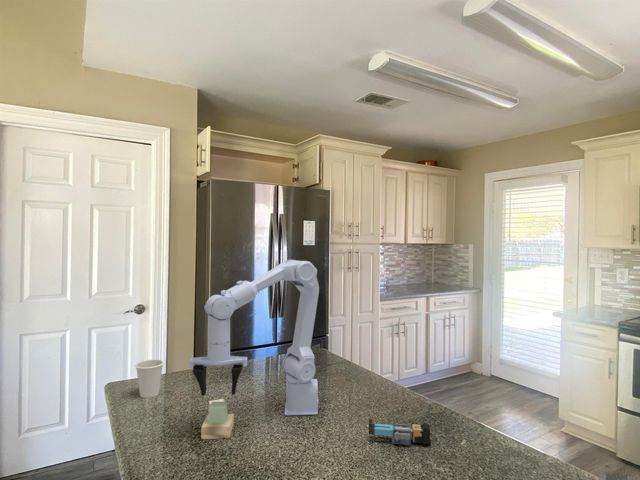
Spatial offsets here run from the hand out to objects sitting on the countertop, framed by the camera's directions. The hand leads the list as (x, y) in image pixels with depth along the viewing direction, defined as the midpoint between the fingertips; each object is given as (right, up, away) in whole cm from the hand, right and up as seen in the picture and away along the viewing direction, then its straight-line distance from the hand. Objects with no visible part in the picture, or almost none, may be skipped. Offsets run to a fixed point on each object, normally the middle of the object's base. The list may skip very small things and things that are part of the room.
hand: (218, 393), depth 100 cm
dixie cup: (-29, -10, +24) cm, 39 cm away
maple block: (0, -10, 0) cm, 10 cm away
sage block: (0, -7, 0) cm, 7 cm away
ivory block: (-3, -10, +9) cm, 14 cm away
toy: (+46, -10, -4) cm, 48 cm away
